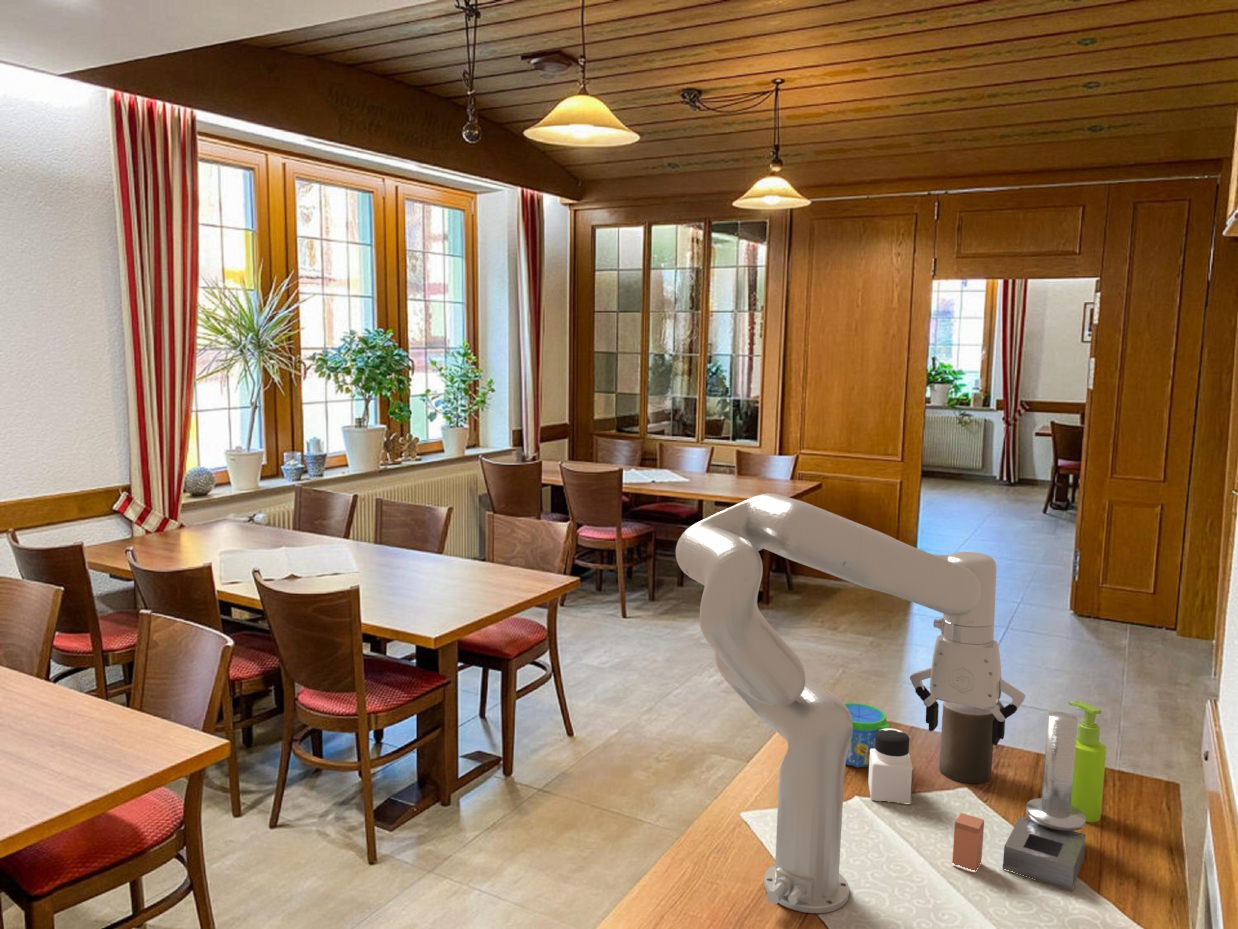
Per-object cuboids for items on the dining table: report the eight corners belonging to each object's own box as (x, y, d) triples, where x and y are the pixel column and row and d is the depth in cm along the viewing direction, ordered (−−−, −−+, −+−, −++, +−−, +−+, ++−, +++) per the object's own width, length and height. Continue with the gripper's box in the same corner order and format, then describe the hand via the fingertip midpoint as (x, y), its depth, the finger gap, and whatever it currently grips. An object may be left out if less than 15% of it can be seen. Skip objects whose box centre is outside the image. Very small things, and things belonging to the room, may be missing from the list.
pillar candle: (986, 788, 171) (992, 712, 169) (933, 775, 176) (938, 701, 174) (994, 770, 179) (1000, 697, 177) (944, 757, 184) (949, 686, 183)
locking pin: (975, 874, 142) (978, 829, 141) (952, 866, 144) (955, 822, 143) (981, 863, 145) (984, 819, 144) (958, 856, 147) (961, 813, 146)
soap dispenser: (1075, 801, 167) (1084, 697, 164) (1108, 819, 160) (1117, 711, 158) (1051, 806, 164) (1059, 701, 162) (1083, 824, 158) (1092, 715, 156)
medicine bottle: (911, 805, 164) (914, 742, 162) (870, 801, 165) (874, 738, 164) (906, 787, 171) (910, 726, 169) (868, 783, 172) (871, 723, 171)
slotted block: (1071, 891, 138) (1083, 754, 135) (1002, 869, 144) (1012, 737, 141) (1090, 840, 153) (1100, 715, 150) (1026, 822, 159) (1035, 702, 156)
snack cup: (905, 768, 179) (908, 719, 178) (872, 782, 173) (875, 731, 171) (842, 741, 191) (844, 695, 190) (809, 753, 185) (811, 706, 184)
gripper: (905, 629, 144) (902, 731, 146) (1023, 647, 134) (1017, 757, 136) (918, 617, 150) (915, 715, 152) (1031, 634, 140) (1026, 738, 143)
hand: (964, 735), depth 144 cm, fingers open, 9 cm apart
